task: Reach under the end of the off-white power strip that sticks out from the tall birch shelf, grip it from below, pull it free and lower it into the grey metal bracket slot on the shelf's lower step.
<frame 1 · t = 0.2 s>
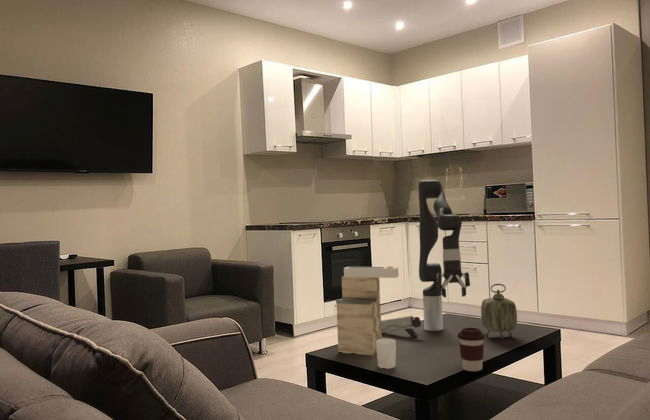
hand: (454, 296, 232), 22 cm above the table, tool pointing down, fingers open, 8 cm apart
coffee cup: (472, 369, 201), on the table
gun: (397, 335, 258), on the table
tabletop clock: (500, 338, 246), on the table
step shelf: (361, 349, 234), on the table
white cup: (386, 366, 209), on the table
power strip: (370, 276, 234), point 32 cm above the table, touching step shelf
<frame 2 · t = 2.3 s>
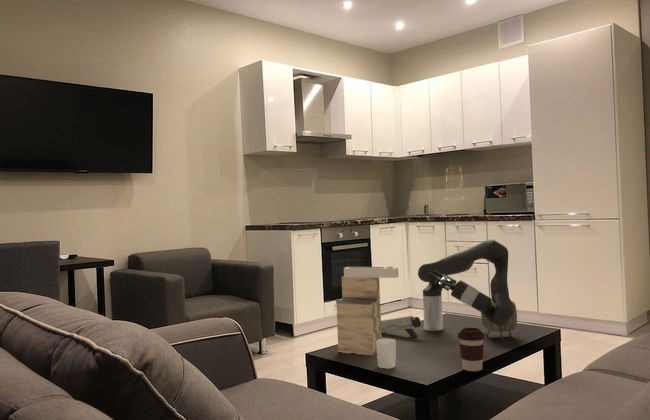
hand: (430, 273, 224), 34 cm above the table, tool pointing upward, fingers open, 8 cm apart
nothing on the table moved.
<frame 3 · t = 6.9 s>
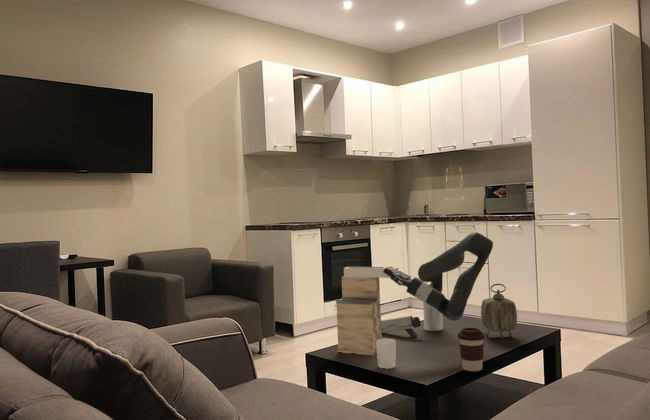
hand: (386, 269, 232), 35 cm above the table, tool pointing upward, fingers closed on power strip, 4 cm apart
power strip: (370, 276, 234), point 32 cm above the table, touching gripper, step shelf
everything else where it was.
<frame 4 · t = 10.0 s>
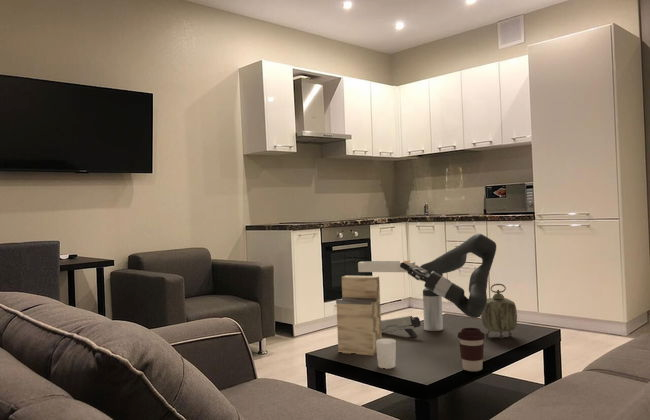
hand: (402, 263, 222), 39 cm above the table, tool pointing upward, fingers closed on power strip, 4 cm apart
power strip: (386, 271, 225), point 35 cm above the table, touching gripper
everything else where it was.
when the fingers open (26 cm above the table, at t = 13.3 s): power strip drops 1 cm, resting on step shelf.
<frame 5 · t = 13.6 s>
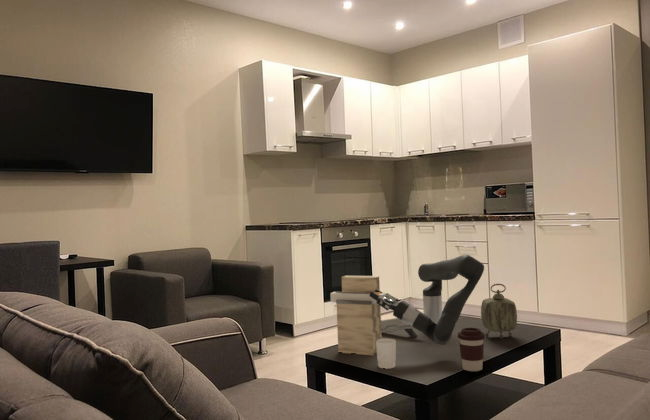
hand: (372, 292, 227), 26 cm above the table, tool pointing upward, fingers open, 6 cm apart
power strip: (357, 302, 231), point 21 cm above the table, touching step shelf
everything else where it was.
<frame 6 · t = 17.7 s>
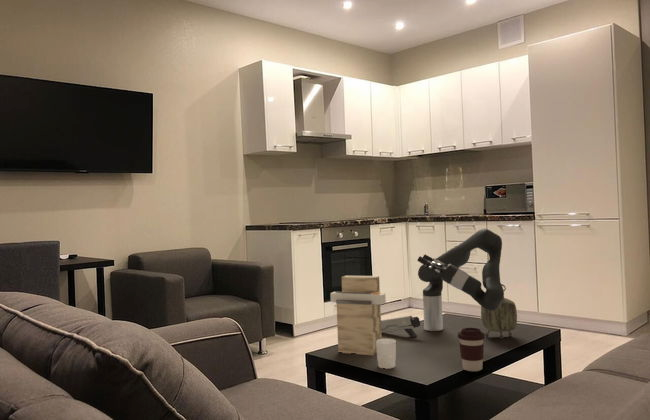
hand: (420, 257, 223), 41 cm above the table, tool pointing upward, fingers open, 8 cm apart
nothing on the table moved.
at the end: power strip inside the target area (0.1 cm from its centre), point 21.5 cm above the table; the gripper is holding nothing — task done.
